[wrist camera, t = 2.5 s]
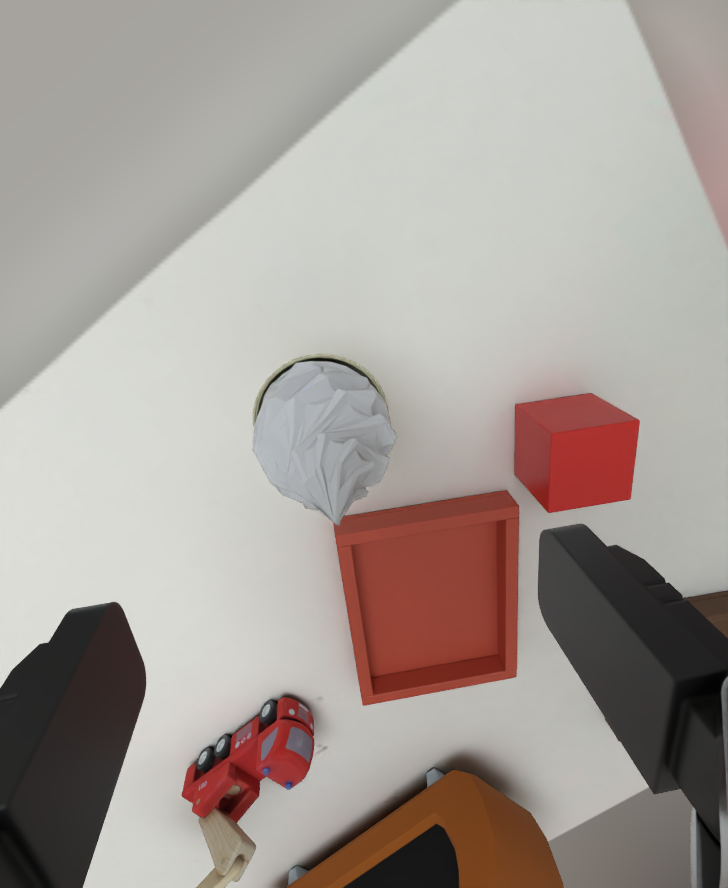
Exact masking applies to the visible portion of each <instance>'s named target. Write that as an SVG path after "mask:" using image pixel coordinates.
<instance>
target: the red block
mask: <svg viewBox="0 0 728 888" xmlns="http://www.w3.org/2000/svg"><path fill="white" fill-rule="evenodd" d="M639 423H640V421H639V420H638V419H636V418H635V417H633V416H631V415H629V414H627V413H626V412H624V411H622V410H620V409H619V408H617V407H615V406H613V405H611V404H610V403H608V402H606V401H604V400H603V399H601V398H599V397H597V396H596V395H594V394H592V393H588V394H582V395H575V396H568V397H562V398H555V399H549V400H542V401H535V402H529V403H522V404H516V405H515V475H516V477H517V478H518V479H519V480H520V481H521V482H522V483H523V485H524V486H525V487H526V488H527V489H528V490H529V491H530V493H531V494H532V495H533V496H534V497H535V498H536V499H537V501H538V502H539V503H540V504H541V505H542V506H543V507H544V508H545V510H546V511H547V512H548V513H552V512H558V511H564V510H570V509H576V508H582V507H588V506H594V505H600V504H606V503H612V502H618V501H624V500H629V499H631V491H632V483H633V474H634V465H635V457H636V448H637V440H638V431H639Z"/></svg>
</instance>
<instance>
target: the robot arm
mask: <svg viewBox="0 0 728 888" xmlns="http://www.w3.org/2000/svg"><path fill="white" fill-rule="evenodd" d="M538 600H539V605H540V609H541V613H542V616H543V618H544V621H545V623H546V625H547V626H548V628H549V630H550V631H551V633H552V634H553V636H554V638H555V639H556V641H557V642H558V644H559V646H560V647H561V649H562V650H563V652H564V653H565V655H566V657H567V658H568V660H569V661H570V663H571V664H572V666H573V668H574V669H575V671H576V672H577V674H578V675H579V677H580V679H581V680H582V682H583V683H584V685H585V686H586V688H587V690H588V691H589V693H590V694H591V696H592V697H593V699H594V701H595V702H596V704H597V705H598V707H599V709H600V710H601V712H602V713H603V715H604V716H605V718H606V720H607V721H608V723H609V724H610V726H611V727H612V729H613V731H614V732H615V734H616V735H617V737H618V738H619V740H620V742H621V743H622V745H623V746H624V748H625V749H626V751H627V753H628V754H629V756H630V757H631V759H632V760H633V762H634V764H635V765H636V767H637V768H638V770H639V771H640V773H641V775H642V776H643V778H644V779H645V781H646V783H647V784H648V786H649V787H650V789H651V790H652V792H653V794H658V793H663V792H668V791H672V790H677V789H681V790H682V791H683V793H684V794H685V795H686V797H687V798H688V800H689V801H690V803H691V804H692V806H693V810H692V815H691V888H728V638H727V637H726V636H725V635H724V634H723V633H722V632H721V631H719V630H718V629H717V628H716V627H715V626H714V625H713V624H712V623H711V622H710V621H709V620H708V619H707V618H706V617H705V616H704V615H703V614H701V613H700V612H699V611H698V610H697V609H696V608H695V607H694V606H693V605H692V604H691V603H690V602H689V601H688V600H684V599H683V598H682V595H681V594H680V593H679V592H678V591H677V590H676V589H675V588H674V587H673V586H672V585H671V584H670V583H666V582H665V579H664V578H663V577H662V576H661V575H660V574H659V573H658V572H657V571H656V570H655V569H654V568H653V567H652V566H651V565H650V564H648V563H647V562H646V561H645V560H644V559H642V558H640V557H639V556H637V555H635V554H633V553H631V552H629V551H627V550H625V549H623V548H621V547H619V546H618V545H613V546H608V547H607V546H606V545H605V544H604V543H603V542H602V541H601V540H600V539H599V538H598V537H597V536H596V535H595V534H594V533H593V532H592V531H591V530H590V529H589V528H588V527H587V526H586V525H584V524H576V525H570V526H564V527H558V528H553V529H547V530H543V531H542V532H541V535H540V541H539V571H538ZM145 690H146V672H145V666H144V662H143V659H142V657H141V654H140V652H139V649H138V647H137V644H136V642H135V639H134V636H133V634H132V631H131V629H130V626H129V624H128V621H127V619H126V616H125V613H124V611H123V609H122V607H121V606H120V605H119V604H118V603H117V602H111V603H105V604H99V605H94V606H88V607H82V608H76V609H72V610H70V611H69V612H67V614H66V615H65V616H64V618H63V620H62V621H61V623H60V625H59V626H58V628H57V630H56V631H55V633H54V635H53V636H52V638H51V640H50V641H49V643H43V644H39V645H38V646H37V647H36V648H35V649H34V650H33V651H32V652H31V653H30V654H29V655H28V656H27V657H26V658H24V659H23V660H22V661H21V662H20V663H19V664H18V665H17V666H16V667H15V668H14V669H13V670H12V671H11V673H10V674H9V676H8V677H7V679H6V680H5V682H4V684H3V685H2V687H1V688H0V888H83V885H84V882H85V878H86V875H87V872H88V869H89V866H90V863H91V860H92V857H93V854H94V851H95V848H96V845H97V842H98V839H99V835H100V832H101V829H102V826H103V823H104V820H105V817H106V814H107V811H108V808H109V805H110V802H111V799H112V795H113V792H114V789H115V786H116V783H117V780H118V777H119V774H120V771H121V768H122V765H123V762H124V759H125V756H126V752H127V749H128V746H129V743H130V740H131V737H132V734H133V731H134V728H135V725H136V722H137V719H138V716H139V712H140V709H141V706H142V703H143V700H144V696H145Z"/></svg>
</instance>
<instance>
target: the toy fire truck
mask: <svg viewBox="0 0 728 888" xmlns="http://www.w3.org/2000/svg"><path fill="white" fill-rule="evenodd" d="M313 736H314V720H313V716H312V714H311V712H310V711H309V710H308V709H307V708H306V707H305V706H304V705H303V704H301V703H300V702H298V701H296V700H294V699H291V698H287V697H283V698H281V699H279V701H278V704H276V703H275V702H273V701H268V702H267V703H265V705H264V706H263V707H262V709H261V712H260V716H257V717H256V718H254V719H253V720H252V721H250V722H249V723H247V724H246V725H245V726H244V727H243V728H241V729H240V730H239V731H237V732H236V733H234V734H233V736H232V738H230V737H229V736H228V735H224V736H222V737H221V738H220V739H219V741H218V742H217V744H216V746H215V748H214V753H213V750H212V749H210V748H206V749H204V750H203V751H202V752H201V754H200V755H199V758H198V760H197V763H194V764H193V765H191V766H190V767H189V768H188V769H187V773H186V777H185V782H184V788H183V792H182V797H183V798H185V799H187V800H188V801H190V802H192V803H193V807H192V812H193V813H195V814H197V815H198V816H200V818H199V823H200V826H201V829H202V831H203V834H204V837H205V840H206V842H207V845H208V848H209V851H210V853H211V856H212V859H213V862H214V865H215V868H214V869H213V870H212V872H211V873H210V874H209V875H208V876H207V877H206V878H205V879H204V880H203V881H202V882H201V883H200V884H199V885H198V886H197V887H196V888H225V887H226V886H227V884H228V883H229V882H230V881H234V882H237V881H239V880H240V878H241V877H242V875H243V873H244V871H245V869H246V867H247V865H248V863H249V861H250V860H251V858H252V856H253V854H254V852H255V850H256V845H255V843H254V842H253V841H252V840H251V839H250V838H249V837H248V836H247V835H246V834H245V832H244V831H243V830H242V829H241V828H240V827H239V826H238V825H237V824H236V823H237V822H238V821H239V820H240V818H241V817H242V816H243V815H244V813H245V812H246V811H247V810H248V808H250V806H251V805H252V804H253V803H254V801H255V800H256V799H257V798H258V797H259V790H260V781H261V780H262V779H263V778H265V777H268V778H270V779H272V780H273V781H275V782H276V783H278V784H280V785H281V786H283V787H285V788H286V789H287V790H289V789H291V788H292V787H294V786H295V785H297V784H298V783H299V782H301V781H302V780H303V779H304V778H305V776H306V774H307V772H308V771H309V769H310V765H311V761H312V757H313V751H314V738H313ZM214 755H215V756H214Z"/></svg>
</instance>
